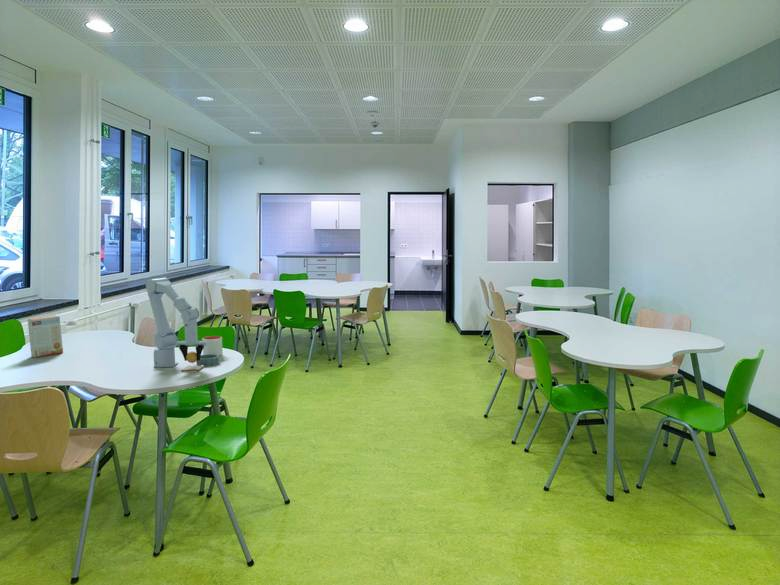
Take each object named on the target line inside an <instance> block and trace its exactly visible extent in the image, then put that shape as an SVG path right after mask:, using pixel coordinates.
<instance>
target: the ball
mask: <svg viewBox="0 0 780 585" xmlns="http://www.w3.org/2000/svg"><path fill="white" fill-rule="evenodd" d="M186 359H187V360H186V361H187V362H188V363H189V364H194V363H196V361H197V353H196V351H189V352H188V354H187V356H186Z"/></svg>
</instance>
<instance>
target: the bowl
mask: <svg viewBox="0 0 780 585" xmlns="http://www.w3.org/2000/svg"><path fill="white" fill-rule="evenodd" d="M218 362H220V356H218V355H216V354H205V355H203V354H201V356H200V360H199V361H196V362H195V363H196V366H199V365H210V366H214V365H213V364H215V365H217V363H218ZM218 364H219V363H218Z"/></svg>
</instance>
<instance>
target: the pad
mask: <svg viewBox="0 0 780 585" xmlns="http://www.w3.org/2000/svg"><path fill="white" fill-rule="evenodd" d="M203 367H204V368H205V366H199V365H187V366H186V367H184V368H182V369H181V372H182V371H198V372H199V370H200V369H201V370H202V369H204V368H203ZM201 370H200V371H201Z"/></svg>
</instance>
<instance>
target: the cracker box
mask: <svg viewBox="0 0 780 585" xmlns="http://www.w3.org/2000/svg"><path fill="white" fill-rule="evenodd" d="M27 325H28V336H29V346H30V354H31V355H30V356H31V357H32V358H35V359H37V358H41V357H47V356H53V354H54V355H58V353H59V354H63V353H64V350H63V349H64V348H63V338H62V337H63V336H62V328H61V318H60V316H59V315H51V316H41V317H36V318H29V319H27Z"/></svg>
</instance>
